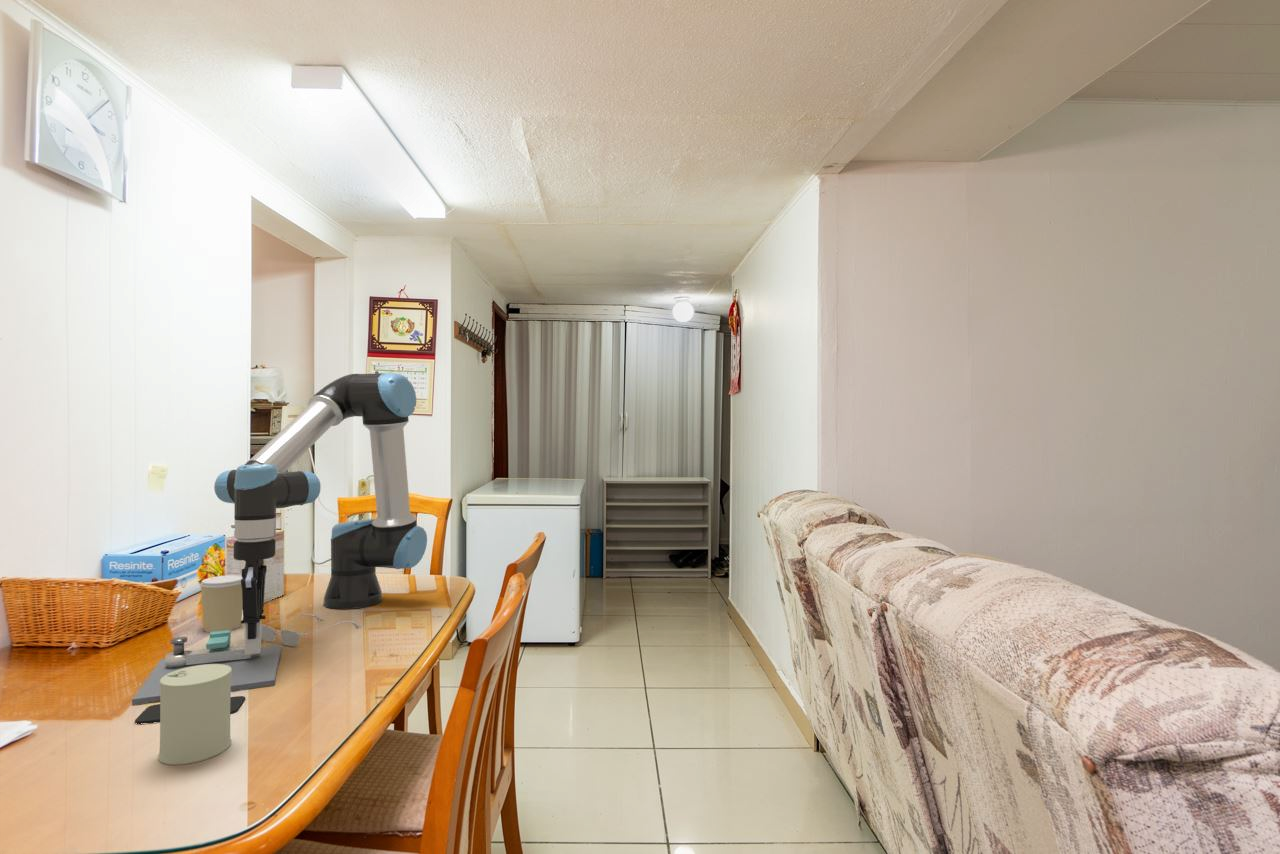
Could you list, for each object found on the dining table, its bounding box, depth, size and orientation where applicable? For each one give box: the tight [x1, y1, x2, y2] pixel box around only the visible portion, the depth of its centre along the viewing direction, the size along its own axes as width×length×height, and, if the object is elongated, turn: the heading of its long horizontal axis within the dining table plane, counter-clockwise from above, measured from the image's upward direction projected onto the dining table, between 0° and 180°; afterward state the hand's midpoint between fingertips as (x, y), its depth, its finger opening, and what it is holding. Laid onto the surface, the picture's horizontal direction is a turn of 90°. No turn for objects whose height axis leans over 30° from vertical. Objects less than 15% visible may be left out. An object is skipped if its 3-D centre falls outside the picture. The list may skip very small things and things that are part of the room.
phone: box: [134, 695, 246, 725], centre depth 114 cm, size 7×1×15 cm
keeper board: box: [131, 630, 282, 706], centre depth 131 cm, size 22×23×6 cm
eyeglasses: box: [261, 613, 362, 647], centre depth 159 cm, size 15×18×4 cm
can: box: [157, 664, 232, 766], centre depth 100 cm, size 9×9×12 cm
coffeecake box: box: [225, 529, 285, 610], centre depth 187 cm, size 15×7×20 cm, turn 172°
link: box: [164, 636, 261, 668], centre depth 136 cm, size 17×4×5 cm, turn 112°
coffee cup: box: [199, 575, 243, 633], centre depth 162 cm, size 9×9×12 cm
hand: (252, 653), depth 136 cm, fingers closed
